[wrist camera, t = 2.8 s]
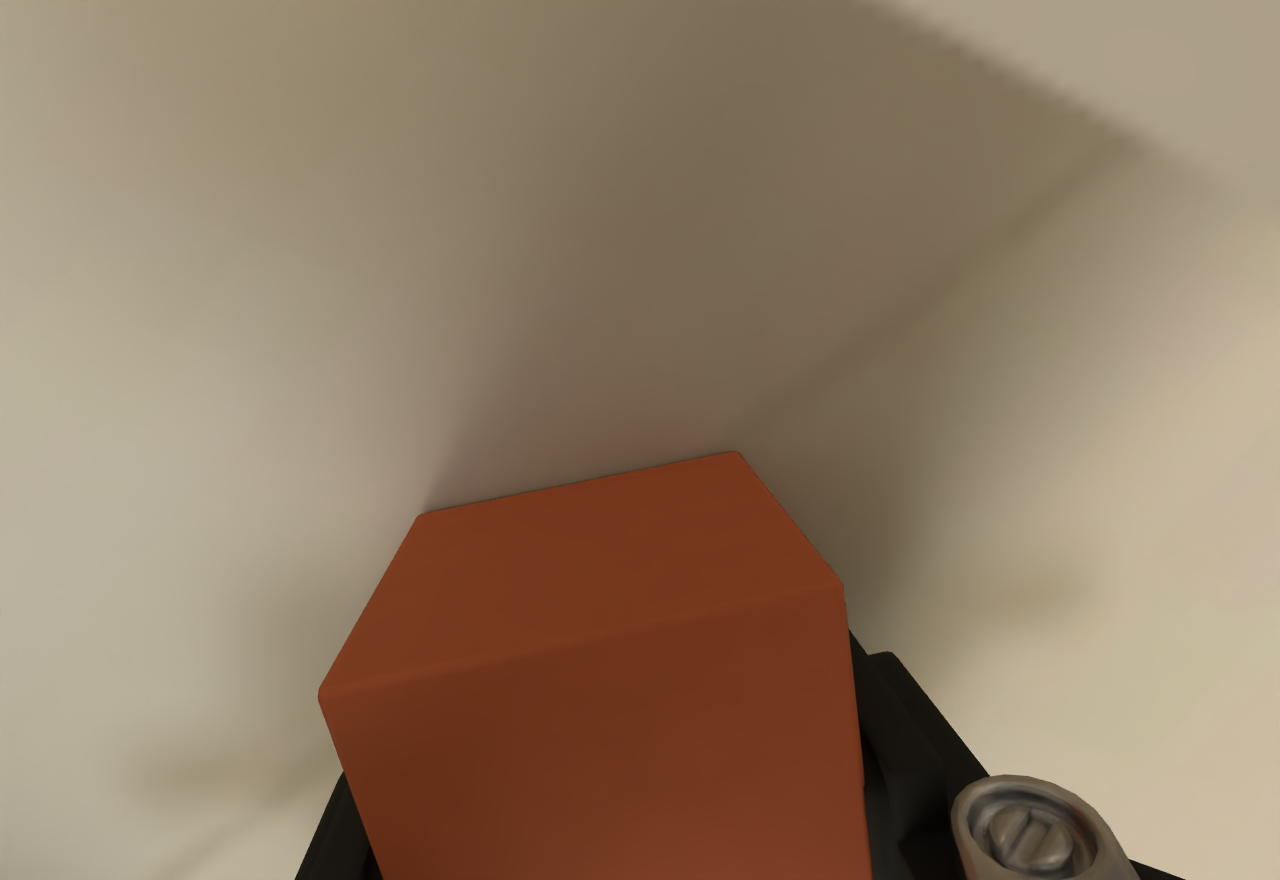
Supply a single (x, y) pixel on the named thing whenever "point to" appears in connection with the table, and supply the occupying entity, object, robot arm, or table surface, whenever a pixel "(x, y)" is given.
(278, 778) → the table surface
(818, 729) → the orange rectangular block
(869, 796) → the robot arm
